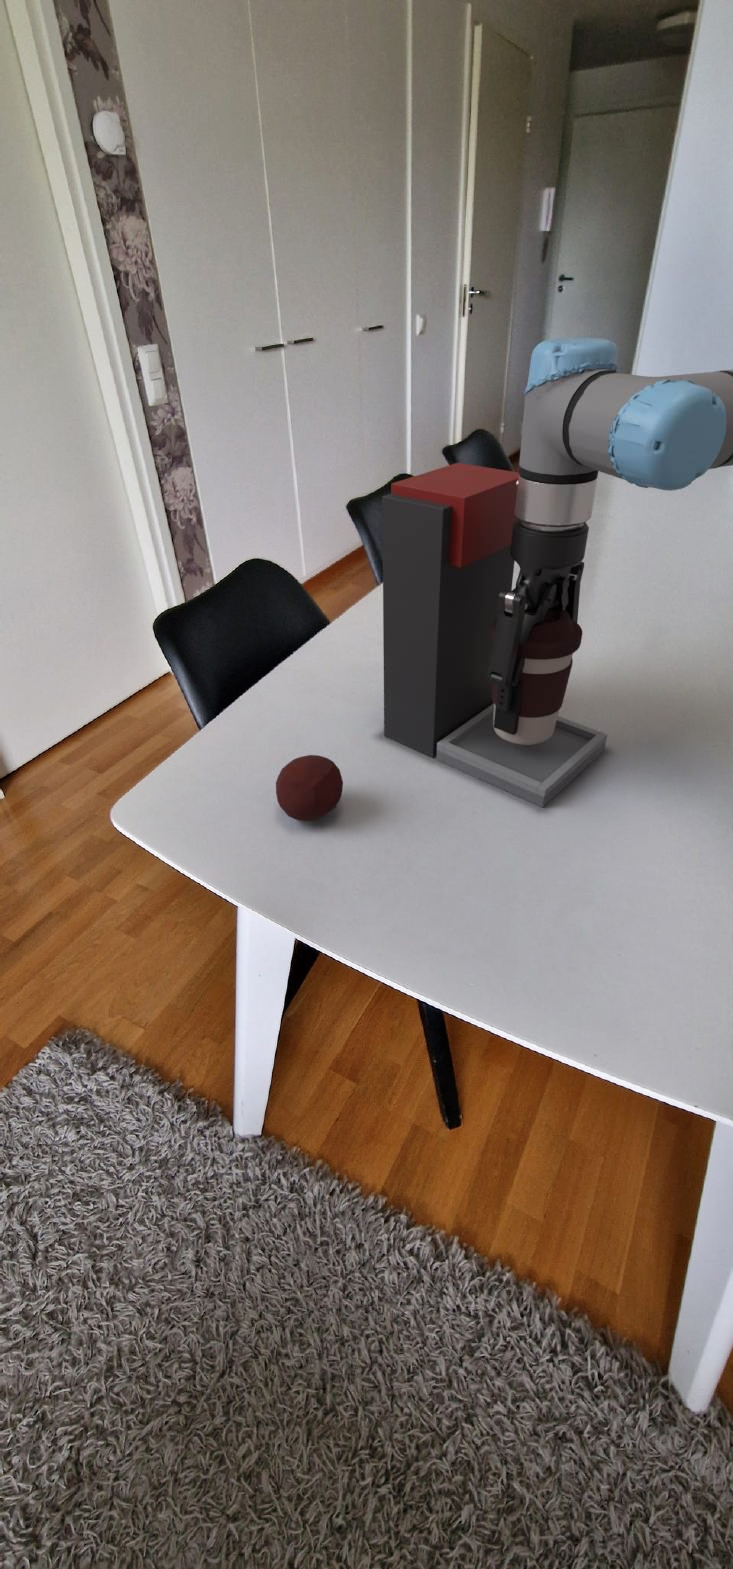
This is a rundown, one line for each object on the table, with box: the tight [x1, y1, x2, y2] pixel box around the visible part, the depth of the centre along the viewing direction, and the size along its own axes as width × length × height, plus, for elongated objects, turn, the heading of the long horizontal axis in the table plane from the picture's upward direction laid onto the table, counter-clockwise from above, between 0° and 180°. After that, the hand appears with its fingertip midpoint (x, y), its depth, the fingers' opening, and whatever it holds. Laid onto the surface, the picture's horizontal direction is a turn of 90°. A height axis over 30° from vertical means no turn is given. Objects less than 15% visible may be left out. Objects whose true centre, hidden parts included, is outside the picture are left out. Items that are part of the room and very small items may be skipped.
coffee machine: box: [381, 462, 608, 808], centre depth 81 cm, size 24×15×31 cm, turn 49°
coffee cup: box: [490, 609, 583, 745], centre depth 81 cm, size 10×10×15 cm
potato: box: [275, 754, 344, 822], centre depth 77 cm, size 7×8×7 cm
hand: (525, 714), depth 84 cm, fingers closed on coffee cup, 8 cm apart
